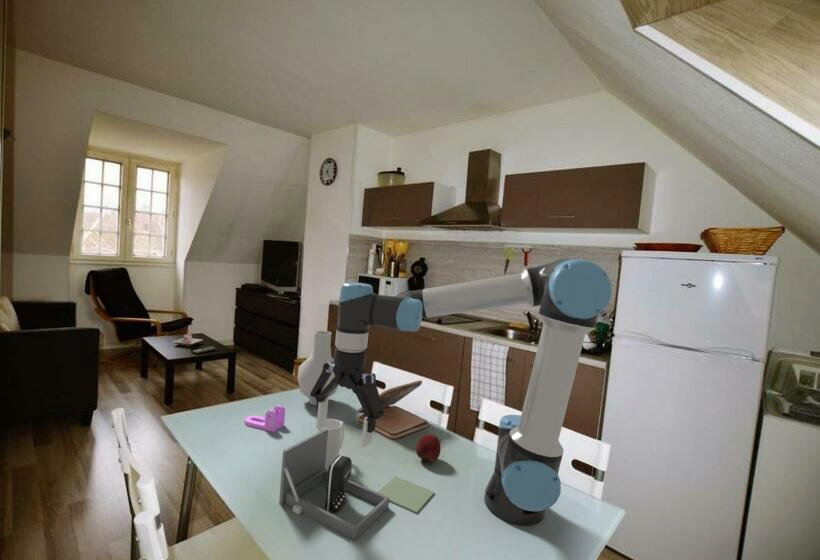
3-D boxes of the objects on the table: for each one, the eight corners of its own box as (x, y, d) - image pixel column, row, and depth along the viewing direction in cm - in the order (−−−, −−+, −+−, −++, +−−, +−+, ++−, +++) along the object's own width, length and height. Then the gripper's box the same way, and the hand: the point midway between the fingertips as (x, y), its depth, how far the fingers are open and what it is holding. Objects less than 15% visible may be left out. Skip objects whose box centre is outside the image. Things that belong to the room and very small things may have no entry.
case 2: (393, 407, 160) (397, 368, 159) (432, 426, 146) (436, 383, 145) (353, 419, 146) (356, 377, 144) (392, 442, 131) (396, 395, 130)
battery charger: (338, 516, 92) (342, 469, 91) (323, 512, 93) (327, 465, 92) (350, 499, 99) (354, 455, 98) (336, 495, 100) (340, 451, 99)
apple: (444, 461, 121) (447, 436, 121) (428, 469, 116) (430, 443, 115) (426, 451, 126) (428, 427, 126) (409, 459, 121) (412, 433, 120)
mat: (434, 493, 104) (434, 491, 104) (416, 513, 96) (416, 512, 96) (395, 477, 110) (395, 476, 110) (375, 495, 101) (375, 493, 101)
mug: (327, 473, 109) (330, 431, 108) (309, 465, 112) (312, 424, 111) (350, 459, 117) (354, 420, 117) (333, 451, 121) (336, 413, 120)
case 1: (390, 505, 98) (394, 455, 97) (352, 543, 84) (357, 484, 83) (322, 474, 108) (325, 428, 107) (278, 503, 95) (282, 450, 94)
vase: (288, 406, 151) (293, 333, 149) (306, 391, 167) (311, 326, 165) (329, 413, 148) (335, 339, 146) (344, 397, 164) (349, 331, 163)
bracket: (283, 426, 135) (285, 406, 134) (273, 432, 130) (275, 412, 129) (251, 418, 138) (253, 398, 138) (240, 424, 133) (242, 404, 133)
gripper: (404, 356, 91) (395, 446, 92) (321, 336, 103) (314, 415, 104) (387, 363, 84) (377, 459, 86) (300, 340, 96) (293, 425, 97)
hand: (342, 435), depth 95 cm, fingers open, 13 cm apart
